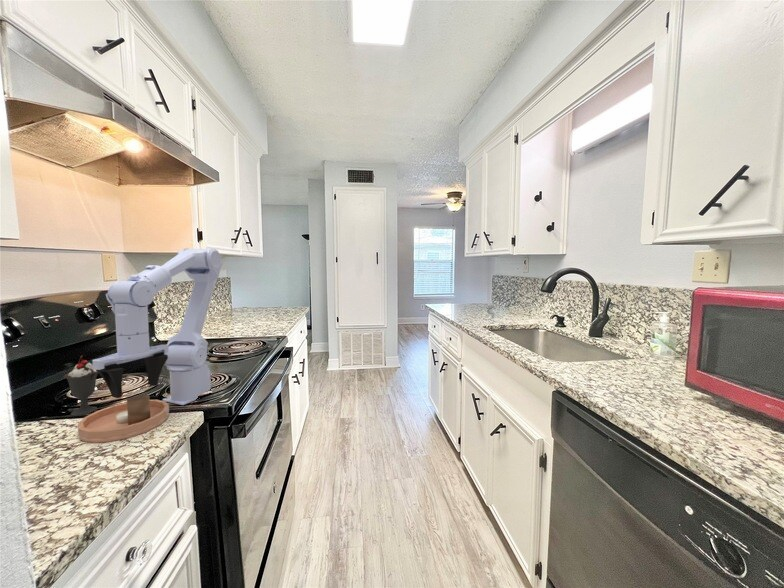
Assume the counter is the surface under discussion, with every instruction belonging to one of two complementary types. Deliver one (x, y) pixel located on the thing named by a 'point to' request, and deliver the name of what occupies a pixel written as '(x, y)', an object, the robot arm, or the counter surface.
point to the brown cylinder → (138, 409)
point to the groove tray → (119, 423)
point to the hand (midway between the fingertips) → (135, 390)
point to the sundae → (82, 385)
